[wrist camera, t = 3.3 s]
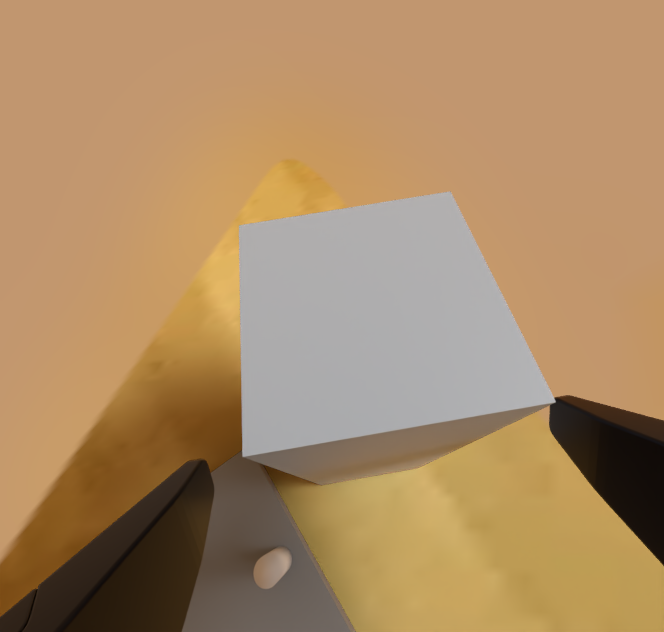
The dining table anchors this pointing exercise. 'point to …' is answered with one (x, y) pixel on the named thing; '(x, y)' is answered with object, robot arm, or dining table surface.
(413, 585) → the dining table surface
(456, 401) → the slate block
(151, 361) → the dining table surface
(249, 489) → the plate
